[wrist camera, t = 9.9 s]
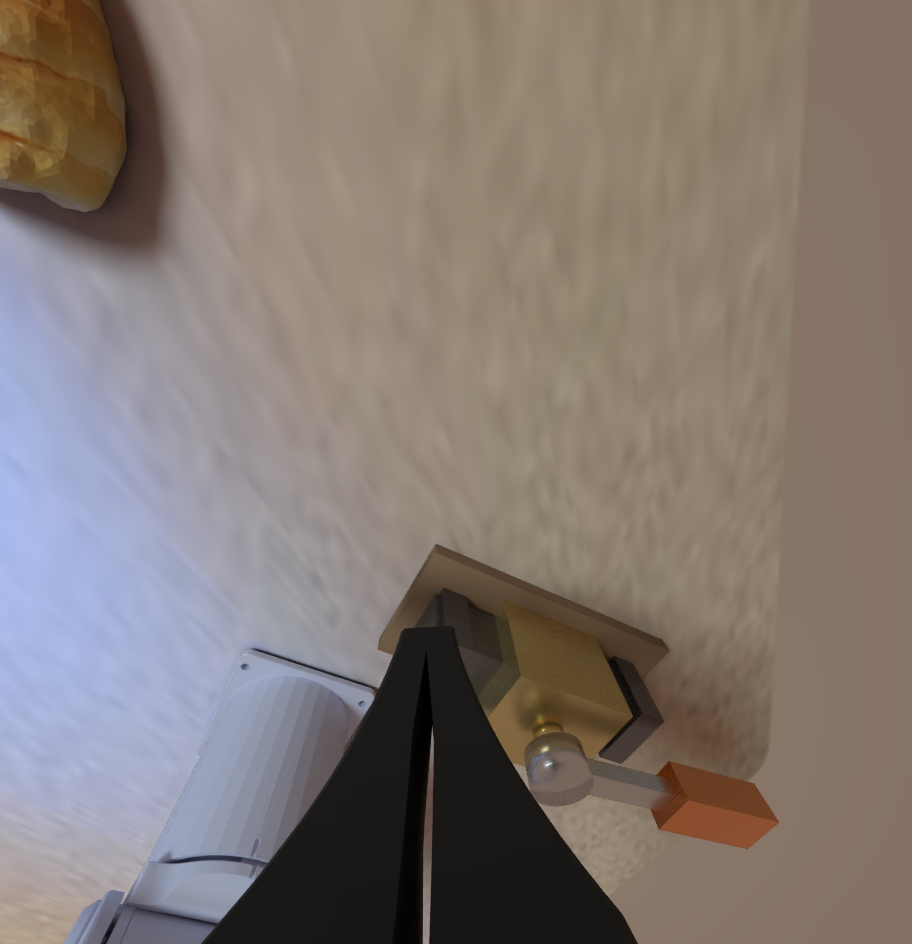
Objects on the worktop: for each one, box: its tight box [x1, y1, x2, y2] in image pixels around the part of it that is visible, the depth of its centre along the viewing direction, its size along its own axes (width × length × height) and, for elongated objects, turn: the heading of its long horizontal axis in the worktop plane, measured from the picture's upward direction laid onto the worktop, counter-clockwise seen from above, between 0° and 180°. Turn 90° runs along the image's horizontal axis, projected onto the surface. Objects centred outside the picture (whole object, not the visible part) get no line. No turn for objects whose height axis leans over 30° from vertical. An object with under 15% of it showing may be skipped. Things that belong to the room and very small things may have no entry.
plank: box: [378, 544, 669, 679], centre depth 24 cm, size 7×15×1 cm, turn 62°
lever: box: [524, 732, 779, 849], centre depth 19 cm, size 12×3×2 cm, turn 66°
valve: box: [414, 587, 664, 767], centre depth 21 cm, size 5×13×5 cm, turn 62°
